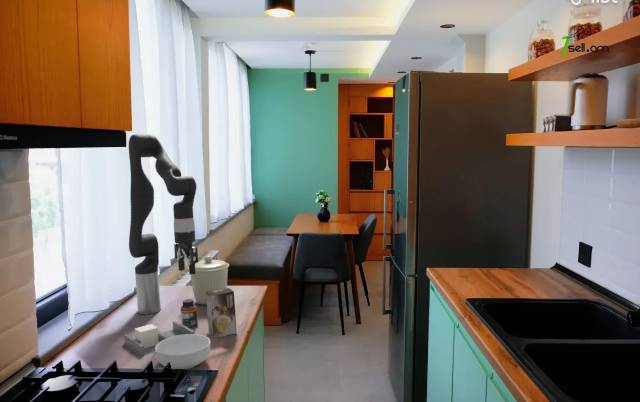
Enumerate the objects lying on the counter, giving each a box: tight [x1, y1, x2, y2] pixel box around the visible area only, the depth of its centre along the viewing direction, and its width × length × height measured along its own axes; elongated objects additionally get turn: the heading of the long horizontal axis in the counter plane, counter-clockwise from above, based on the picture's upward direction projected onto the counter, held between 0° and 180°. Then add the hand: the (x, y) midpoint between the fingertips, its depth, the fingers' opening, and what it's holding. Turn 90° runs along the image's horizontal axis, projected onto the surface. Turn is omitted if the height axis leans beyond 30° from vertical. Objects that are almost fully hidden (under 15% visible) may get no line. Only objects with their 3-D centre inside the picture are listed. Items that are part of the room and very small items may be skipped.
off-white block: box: [134, 323, 159, 349], centre depth 168 cm, size 5×6×6 cm
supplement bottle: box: [180, 298, 199, 329], centre depth 186 cm, size 6×6×11 cm
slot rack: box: [123, 320, 195, 357], centre depth 171 cm, size 15×20×4 cm
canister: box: [187, 255, 230, 306], centre depth 220 cm, size 18×18×21 cm
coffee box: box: [206, 287, 238, 339], centre depth 180 cm, size 9×6×16 cm
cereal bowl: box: [155, 333, 212, 370], centre depth 155 cm, size 17×17×7 cm
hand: (187, 272), depth 185 cm, fingers open, 8 cm apart
